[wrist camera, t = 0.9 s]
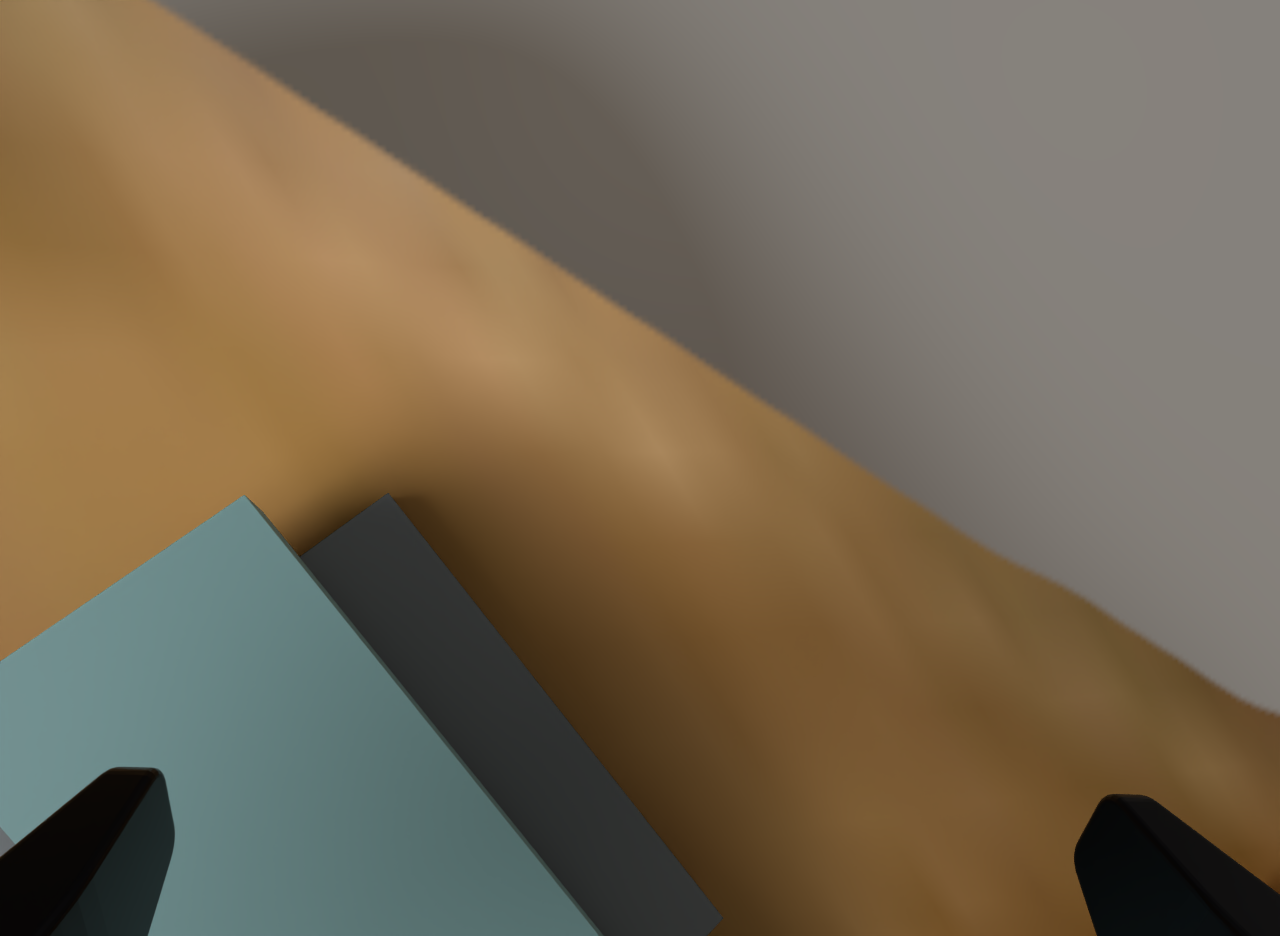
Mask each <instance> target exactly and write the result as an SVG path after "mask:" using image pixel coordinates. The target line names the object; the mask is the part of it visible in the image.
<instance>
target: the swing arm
mask: <svg viewBox="0 0 1280 936" xmlns="http://www.w3.org/2000/svg"><path fill="white" fill-rule="evenodd" d="M114 767H153V768H157V769H159V770H160V771H161V772H162V773H163V774H164V777H165V780H166V785H167V790H168V795H169V800H170V805H171V811H172V816H173V821H174V827H175V842H174V849H173V854H172V858H171V861H170V864H169V868H168V871H167V874H166V878H165V881H164V884H163V888H162V891H161V894H160V898H159V901H158V904H157V907H156V911H155V914H154V917H153V921H152V924H151V927H150V931H149V934H148V936H604V935H603V934H602V933H601V932H600V930H599V929H598V928H597V927H596V925H595V924H594V923H593V922H592V920H591V919H590V918H589V917H588V915H587V914H586V913H585V912H584V911H583V909H582V908H581V907H580V906H579V904H578V903H577V902H576V901H575V899H574V898H573V897H572V896H571V894H570V893H569V892H568V891H567V889H566V888H565V887H564V886H563V884H562V883H561V882H560V881H559V879H558V878H557V877H556V876H555V874H554V873H553V872H552V871H551V869H550V868H549V867H548V866H547V864H546V863H545V862H544V861H543V860H542V858H541V857H540V856H539V855H538V853H537V852H536V851H535V850H534V848H533V847H532V846H531V845H530V843H529V842H528V841H527V840H526V838H525V837H524V836H523V835H522V833H521V832H520V831H519V830H518V828H517V827H516V826H515V825H514V823H513V822H512V821H511V820H510V818H509V817H508V816H507V815H506V813H505V812H504V811H503V810H502V809H501V807H500V806H499V805H498V804H497V802H496V801H495V800H494V799H493V797H492V796H491V795H490V794H489V792H488V791H487V790H486V789H485V787H484V786H483V785H482V784H481V782H480V781H479V780H478V779H477V777H476V776H475V775H474V774H473V772H472V771H471V770H470V769H469V767H468V766H467V765H466V764H465V762H464V761H463V760H462V759H461V757H460V756H459V755H458V754H457V753H456V751H455V750H454V749H453V748H452V746H451V745H450V744H449V743H448V741H447V740H446V739H445V738H444V736H443V735H442V734H441V733H440V731H439V730H438V729H437V728H436V726H435V725H434V724H433V723H432V721H431V720H430V719H429V718H428V716H427V715H426V714H425V713H424V711H423V710H422V709H421V708H420V706H419V705H418V704H417V703H416V702H415V700H414V699H413V698H412V697H411V695H410V694H409V693H408V692H407V690H406V689H405V688H404V687H403V685H402V684H401V683H400V682H399V680H398V679H397V678H396V677H395V675H394V674H393V673H392V672H391V670H390V669H389V668H388V667H387V665H386V664H385V663H384V662H383V660H382V659H381V658H380V657H379V655H378V654H377V653H376V652H375V651H374V649H373V648H372V647H371V646H370V644H369V643H368V642H367V641H366V639H365V638H364V637H363V636H362V634H361V633H360V632H359V631H358V629H357V628H356V627H355V626H354V624H353V623H352V622H351V621H350V619H349V618H348V617H347V616H346V614H345V613H344V612H343V611H342V609H341V608H340V607H339V606H338V604H337V603H336V602H335V601H334V600H333V598H332V597H331V596H330V595H329V593H328V592H327V591H326V590H325V588H324V587H323V586H322V585H321V583H320V582H319V581H318V580H317V578H316V577H315V576H314V575H313V573H312V572H311V571H310V570H309V568H308V567H307V566H306V565H305V563H304V562H303V561H302V560H301V558H300V557H299V556H298V555H297V553H296V552H295V551H294V550H293V549H292V547H291V546H290V545H289V544H288V542H287V541H286V540H285V539H284V537H283V536H282V535H281V534H280V532H279V531H278V530H277V529H276V527H275V526H274V525H273V524H272V522H271V521H270V520H269V519H268V517H267V516H266V515H265V514H264V512H263V511H261V510H260V509H259V508H258V507H257V506H256V505H255V504H254V503H253V502H252V501H251V500H249V499H248V498H247V497H246V496H245V495H243V496H242V497H240V498H239V499H238V500H236V501H235V502H233V503H232V504H230V505H229V506H227V507H226V508H224V509H223V510H221V511H220V512H219V513H217V514H216V515H214V516H213V517H211V518H210V519H208V520H207V521H205V522H204V523H202V524H201V525H199V526H198V527H197V528H195V529H194V530H192V531H191V532H189V533H188V534H186V535H185V536H183V537H182V538H180V539H179V540H177V541H176V542H175V543H173V544H172V545H170V546H169V547H167V548H166V549H164V550H163V551H161V552H160V553H158V554H157V555H156V556H154V557H153V558H151V559H150V560H148V561H147V562H145V563H144V564H142V565H141V566H139V567H138V568H136V569H135V570H134V571H132V572H131V573H129V574H128V575H126V576H125V577H123V578H122V579H120V580H119V581H117V582H116V583H114V584H113V585H112V586H110V587H109V588H107V589H106V590H104V591H103V592H101V593H100V594H98V595H97V596H95V597H94V598H93V599H91V600H90V601H88V602H87V603H85V604H84V605H82V606H81V607H79V608H78V609H76V610H75V611H73V612H72V613H71V614H69V615H68V616H66V617H65V618H63V619H62V620H60V621H59V622H57V623H56V624H54V625H53V626H51V627H50V628H49V629H47V630H46V631H44V632H43V633H41V634H40V635H38V636H37V637H35V638H34V639H32V640H31V641H30V642H28V643H27V644H25V645H24V646H22V647H21V648H19V649H18V650H16V651H15V652H13V653H12V654H10V655H9V656H8V657H6V658H5V659H3V660H2V661H0V827H1V828H2V830H3V831H4V832H5V833H6V834H7V835H8V836H9V838H10V839H11V840H12V841H13V842H14V843H15V844H16V843H18V842H19V841H20V840H21V839H23V838H24V837H25V836H26V835H27V834H29V833H30V832H31V831H32V830H34V829H35V828H36V827H37V826H38V825H40V824H41V823H42V822H43V821H45V820H46V819H47V818H48V817H49V816H51V815H52V814H53V813H54V812H55V811H57V810H58V809H59V808H60V807H62V806H63V805H64V804H65V803H66V802H68V801H69V800H70V799H71V798H73V797H74V796H75V795H76V794H77V793H79V792H80V791H81V790H82V789H84V788H85V787H86V786H87V785H88V784H90V783H91V782H92V781H93V780H95V779H96V778H97V777H98V776H99V775H101V774H102V773H103V772H105V771H107V770H109V769H111V768H114Z"/></svg>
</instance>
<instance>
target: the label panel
mask: <svg viewBox="0 0 1280 936" xmlns="http://www.w3.org/2000/svg"><path fill="white" fill-rule="evenodd" d="M300 558H301V560H302V561H303V562H304V563H305V565H306V566H307V567H308V568H309V570H310V571H311V572H312V573H313V575H314V576H315V577H316V578H317V580H318V581H319V582H320V583H321V585H322V586H323V587H324V588H325V590H326V591H327V592H328V593H329V595H330V596H331V597H332V598H333V600H334V601H335V602H336V603H337V604H338V606H339V607H340V608H341V609H342V611H343V612H344V613H345V614H346V616H347V617H348V618H349V619H350V621H351V622H352V623H353V624H354V626H355V627H356V628H357V629H358V631H359V632H360V633H361V634H362V636H363V637H364V638H365V639H366V641H367V642H368V643H369V644H370V646H371V647H372V648H373V649H374V651H375V652H376V653H377V654H378V655H379V657H380V658H381V659H382V660H383V662H384V663H385V664H386V665H387V667H388V668H389V669H390V670H391V672H392V673H393V674H394V675H395V677H396V678H397V679H398V680H399V682H400V683H401V684H402V685H403V687H404V688H405V689H406V690H407V692H408V693H409V694H410V695H411V697H412V698H413V699H414V700H415V702H416V703H417V704H418V705H419V706H420V708H421V709H422V710H423V711H424V713H425V714H426V715H427V716H428V718H429V719H430V720H431V721H432V723H433V724H434V725H435V726H436V728H437V729H438V730H439V731H440V733H441V734H442V735H443V736H444V738H445V739H446V740H447V741H448V743H449V744H450V745H451V746H452V748H453V749H454V750H455V751H456V753H457V754H458V755H459V756H460V757H461V759H462V760H463V761H464V762H465V764H466V765H467V766H468V767H469V769H470V770H471V771H472V772H473V774H474V775H475V776H476V777H477V779H478V780H479V781H480V782H481V784H482V785H483V786H484V787H485V789H486V790H487V791H488V792H489V794H490V795H491V796H492V797H493V799H494V800H495V801H496V802H497V804H498V805H499V806H500V807H501V809H502V810H503V811H504V812H505V813H506V815H507V816H508V817H509V818H510V820H511V821H512V822H513V823H514V825H515V826H516V827H517V828H518V830H519V831H520V832H521V833H522V835H523V836H524V837H525V838H526V840H527V841H528V842H529V843H530V845H531V846H532V847H533V848H534V850H535V851H536V852H537V853H538V855H539V856H540V857H541V858H542V860H543V861H544V862H545V863H546V864H547V866H548V867H549V868H550V869H551V871H552V872H553V873H554V874H555V876H556V877H557V878H558V879H559V881H560V882H561V883H562V884H563V886H564V887H565V888H566V889H567V891H568V892H569V893H570V894H571V896H572V897H573V898H574V899H575V901H576V902H577V903H578V904H579V906H580V907H581V908H582V909H583V911H584V912H585V913H586V914H587V915H588V917H589V918H590V919H591V920H592V922H593V923H594V924H595V925H596V927H597V928H598V929H599V930H600V932H601V933H602V934H603V935H604V936H707V935H708V934H709V933H710V932H711V931H712V930H713V929H714V928H715V926H716V925H717V924H718V923H719V922H720V921H721V920H722V919H723V917H722V916H721V915H720V913H719V912H718V911H717V909H716V908H715V907H714V906H713V904H712V903H711V902H710V901H709V899H708V898H707V897H706V896H705V894H704V893H703V892H702V890H701V889H700V888H699V887H698V885H697V884H696V883H695V882H694V880H693V879H692V878H691V876H690V875H689V874H688V873H687V871H686V870H685V869H684V868H683V866H682V865H681V864H680V863H679V861H678V860H677V859H676V857H675V856H674V855H673V854H672V852H671V851H670V850H669V849H668V847H667V846H666V845H665V844H664V842H663V841H662V840H661V838H660V837H659V836H658V835H657V833H656V832H655V831H654V830H653V828H652V827H651V826H650V824H649V823H648V822H647V821H646V819H645V818H644V817H643V816H642V814H641V813H640V812H639V811H638V809H637V808H636V807H635V805H634V804H633V803H632V802H631V800H630V799H629V798H628V797H627V795H626V794H625V793H624V791H623V790H622V789H621V788H620V786H619V785H618V784H617V783H616V781H615V780H614V779H613V778H612V776H611V775H610V774H609V772H608V771H607V770H606V769H605V767H604V766H603V765H602V764H601V762H600V761H599V760H598V758H597V757H596V756H595V755H594V753H593V752H592V751H591V750H590V748H589V747H588V746H587V745H586V743H585V742H584V741H583V739H582V738H581V737H580V736H579V734H578V733H577V732H576V731H575V729H574V728H573V727H572V725H571V724H570V723H569V722H568V720H567V719H566V718H565V717H564V715H563V714H562V713H561V712H560V710H559V709H558V708H557V706H556V705H555V704H554V703H553V701H552V700H551V699H550V698H549V696H548V695H547V694H546V692H545V691H544V690H543V689H542V687H541V686H540V685H539V684H538V682H537V681H536V680H535V679H534V677H533V676H532V675H531V673H530V672H529V671H528V670H527V668H526V667H525V666H524V665H523V663H522V662H521V661H520V659H519V658H518V657H517V656H516V654H515V653H514V652H513V651H512V649H511V648H510V647H509V646H508V644H507V643H506V642H505V640H504V639H503V638H502V637H501V635H500V634H499V633H498V632H497V630H496V629H495V628H494V626H493V625H492V624H491V623H490V621H489V620H488V619H487V618H486V616H485V615H484V614H483V613H482V611H481V610H480V609H479V607H478V606H477V605H476V604H475V602H474V601H473V600H472V599H471V597H470V596H469V595H468V594H467V592H466V591H465V590H464V588H463V587H462V586H461V585H460V583H459V582H458V581H457V580H456V578H455V577H454V576H453V574H452V573H451V572H450V571H449V569H448V568H447V567H446V566H445V564H444V563H443V562H442V561H441V559H440V558H439V557H438V555H437V554H436V553H435V552H434V550H433V549H432V548H431V547H430V545H429V544H428V543H427V541H426V540H425V539H424V538H423V536H422V535H421V534H420V533H419V531H418V530H417V529H416V528H415V526H414V525H413V524H412V522H411V521H410V520H409V519H408V517H407V516H406V515H405V514H404V512H403V511H402V510H401V508H400V507H399V506H398V505H397V503H396V502H395V501H394V500H393V498H392V497H391V496H390V495H389V493H387V494H386V495H384V496H383V497H382V498H380V499H379V500H378V501H376V502H375V503H373V504H372V505H371V506H369V507H368V508H366V509H365V510H364V511H362V512H361V513H360V514H358V515H357V516H355V517H354V518H353V519H351V520H350V521H349V522H347V523H346V524H344V525H343V526H342V527H340V528H339V529H338V530H336V531H335V532H333V533H332V534H331V535H329V536H328V537H326V538H325V539H324V540H322V541H321V542H320V543H318V544H317V545H315V546H314V547H313V548H311V549H310V550H309V551H307V552H306V553H304V554H303V555H302V556H300ZM14 845H15V843H14V842H13V841H12V840H11V839H10V838H9V836H8V835H7V834H6V833H5V832H4V831H3V830H2V828H1V827H0V857H1V856H2V855H3V854H4V853H5V852H7V851H8V850H9V849H10V848H12V847H13V846H14Z"/></svg>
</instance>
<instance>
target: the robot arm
mask: <svg viewBox="0 0 1280 936" xmlns="http://www.w3.org/2000/svg"><path fill="white" fill-rule="evenodd" d="M174 842H175V827H174V821H173V816H172V811H171V805H170V800H169V795H168V790H167V785H166V780H165V777H164V774H163V773H162V772H161V771H160V770H159V769H157V768H153V767H114V768H111V769H109V770H107V771H105V772H103V773H102V774H101V775H99V776H98V777H97V778H96V779H95V780H93V781H92V782H91V783H90V784H88V785H87V786H86V787H85V788H84V789H82V790H81V791H80V792H79V793H77V794H76V795H75V796H74V797H73V798H71V799H70V800H69V801H68V802H66V803H65V804H64V805H63V806H62V807H60V808H59V809H58V810H57V811H55V812H54V813H53V814H52V815H51V816H49V817H48V818H47V819H46V820H45V821H43V822H42V823H41V824H40V825H38V826H37V827H36V828H35V829H34V830H32V831H31V832H30V833H29V834H27V835H26V836H25V837H24V838H23V839H21V840H20V841H19V842H18V843H16V844H15V845H14V846H13V847H12V848H10V849H9V850H8V851H7V852H5V853H4V854H3V855H2V856H1V857H0V936H148V934H149V931H150V927H151V924H152V921H153V917H154V914H155V911H156V907H157V904H158V901H159V898H160V894H161V891H162V888H163V884H164V881H165V878H166V874H167V871H168V868H169V864H170V861H171V858H172V854H173V849H174ZM1074 862H1075V869H1076V873H1077V876H1078V880H1079V883H1080V886H1081V889H1082V892H1083V895H1084V898H1085V901H1086V904H1087V907H1088V910H1089V913H1090V916H1091V919H1092V922H1093V925H1094V928H1095V932H1096V935H1097V936H1280V895H1279V894H1278V893H1277V892H1275V891H1274V890H1273V889H1271V888H1270V887H1269V886H1267V885H1266V884H1265V883H1264V882H1262V881H1261V880H1260V879H1258V878H1257V877H1256V876H1254V875H1253V874H1252V873H1250V872H1249V871H1248V870H1246V869H1245V868H1244V867H1242V866H1241V865H1240V864H1238V863H1237V862H1236V861H1234V860H1233V859H1232V858H1230V857H1229V856H1228V855H1227V854H1225V853H1224V852H1223V851H1221V850H1220V849H1219V848H1217V847H1216V846H1215V845H1213V844H1212V843H1211V842H1209V841H1208V840H1207V839H1205V838H1204V837H1203V836H1201V835H1200V834H1199V833H1197V832H1196V831H1195V830H1193V829H1192V828H1191V827H1190V826H1188V825H1187V824H1186V823H1184V822H1183V821H1182V820H1180V819H1179V818H1178V817H1176V816H1175V815H1174V814H1172V813H1171V812H1170V811H1168V810H1167V809H1166V808H1164V807H1163V806H1162V805H1160V804H1159V803H1158V802H1156V801H1155V800H1153V799H1151V798H1149V797H1147V796H1143V795H1130V794H1110V795H1107V796H1105V797H1104V798H1102V799H1101V801H1100V802H1099V803H1098V805H1097V807H1096V809H1095V811H1094V813H1093V814H1092V816H1091V818H1090V820H1089V822H1088V824H1087V825H1086V827H1085V829H1084V831H1083V833H1082V835H1081V836H1080V838H1079V840H1078V842H1077V844H1076V847H1075V852H1074Z"/></svg>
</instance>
